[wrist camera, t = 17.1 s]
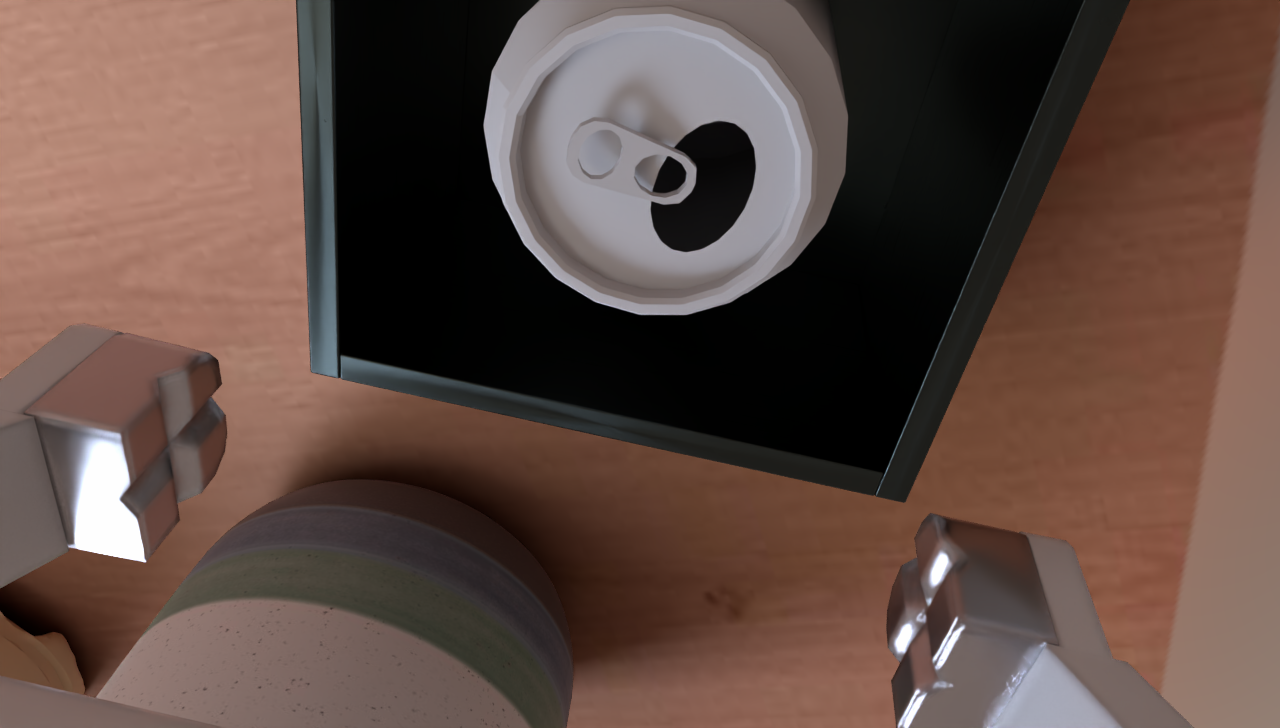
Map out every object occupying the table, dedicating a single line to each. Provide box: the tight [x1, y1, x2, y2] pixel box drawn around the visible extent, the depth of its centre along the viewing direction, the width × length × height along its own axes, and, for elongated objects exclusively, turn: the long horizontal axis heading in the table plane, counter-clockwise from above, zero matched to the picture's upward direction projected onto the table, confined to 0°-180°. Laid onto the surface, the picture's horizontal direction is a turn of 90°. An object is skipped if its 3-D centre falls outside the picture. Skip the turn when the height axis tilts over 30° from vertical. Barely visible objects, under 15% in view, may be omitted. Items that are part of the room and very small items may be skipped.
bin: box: [296, 0, 1130, 503], centre depth 24 cm, size 16×16×10 cm
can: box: [484, 0, 848, 315], centre depth 23 cm, size 8×8×12 cm
